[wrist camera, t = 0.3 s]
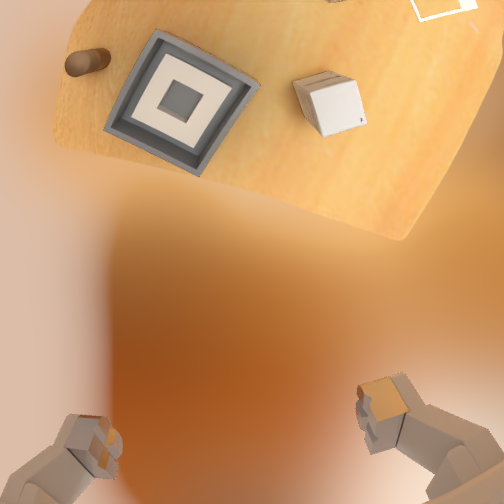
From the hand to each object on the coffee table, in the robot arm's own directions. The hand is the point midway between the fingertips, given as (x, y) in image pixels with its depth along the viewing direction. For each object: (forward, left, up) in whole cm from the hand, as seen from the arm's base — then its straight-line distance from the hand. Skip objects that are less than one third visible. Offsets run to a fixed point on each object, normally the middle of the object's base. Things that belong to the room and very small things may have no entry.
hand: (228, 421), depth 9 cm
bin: (+3, -6, -51) cm, 51 cm away
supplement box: (-10, +13, -51) cm, 54 cm away
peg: (+3, -23, -51) cm, 56 cm away
